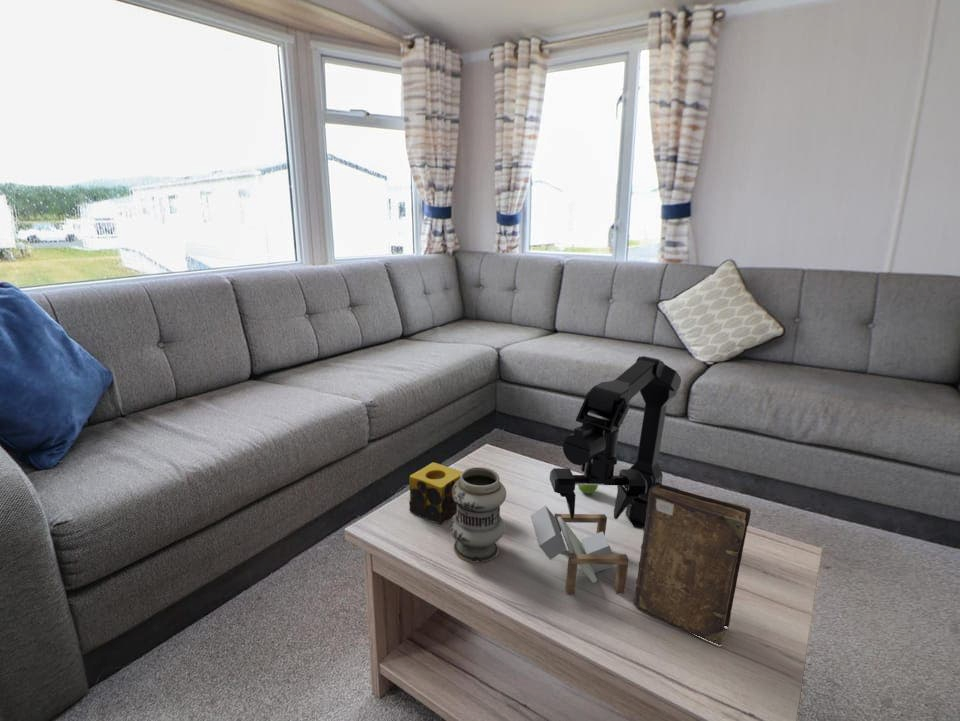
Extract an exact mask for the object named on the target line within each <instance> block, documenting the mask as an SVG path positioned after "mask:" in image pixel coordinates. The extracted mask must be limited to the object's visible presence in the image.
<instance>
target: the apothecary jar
mask: <svg viewBox="0 0 960 721" xmlns="http://www.w3.org/2000/svg"><path fill="white" fill-rule="evenodd" d="M500 480H501V479H500V476H499V474H498V472H496V471H495V470H493V469H491V468H488V467H485V468H484V467H483V466H475V467H470V468H467V469H464V470H463V471H462V473H461V475H460V479H459V480H458V481H457V482H456V483H455V484H454V485H453V488H452V497H453V499H454V501H455V502H456V503H457V508H456V514H455V515H454V516H452V517H451V518H450V519H451V520H450V522H449V531H450V533H451V536H452V537H453V538H454V539H455V540H456V541H455V542H454V544H453V551H454V553H455V554H456V556H457V557H459V559H461V560H464V561H467V562H468V563H469V562H471V563H474V562H480V563H485V562H488V561H491V560H492V559H495V557H496V556H497V555H498V554H499V553H498V552H499V547H498V544H497V542H498V541H499V540H501V538H502V537H503V536H504V533H505V530H506V525H505V522H504V519H503V518H502V516H500V515H501V514H500V513H501V512H500V511H501V505H503V503H504V502H505V501H506V498H507V489H506V487H505V485H504V484H503V483H502V482H501V481H500Z"/></svg>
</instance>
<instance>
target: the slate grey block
mask: <svg viewBox="0 0 960 721" xmlns="http://www.w3.org/2000/svg"><path fill="white" fill-rule="evenodd" d="M580 542H581V543H582V544H583V547H584V549H585V552H586V554H614V553H613V551H612V548H611V546H610V544H609V541H608V539H607V538H606V534H605V535H604V533H603V531H602V532H599V533H597V534H596V533H595V534H592V535H589V536H586V537H584V538H582V539H580ZM591 566H592V568H593V571H594V573H595V574H596V573H598V572H600V571H603V570H607V569H608V568H611V567H615V566H617V564H591Z"/></svg>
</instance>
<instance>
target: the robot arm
mask: <svg viewBox="0 0 960 721" xmlns="http://www.w3.org/2000/svg"><path fill="white" fill-rule="evenodd" d="M681 382H682V379H681V376H680V374H679V373H678V371H677V370H676V369H673V368H672V367H670V366H668V365H667V364H665V363H664V361H662V360H661V359H659V358H654V357H651V356H646V355H645V356H644V355H643V356H638V357H637V359H636V361H635V362H634V364H632V365H631V366H630V367H629V368H627V369H626V370H625V371H624V372H622V373H621V374H620V375H619V376H617V377H616V378H615V379H614V380H610V381H602V382H599V383H598V384H596V385H593V387H592V388H590V389H589V391H588V392H587V394H586V395H585V398H584V400H583V402H582V405H581V407H580V409H579V411H578V414H577V416H576V418H575V421H576V422H577V423H580V424H582V425H581V426H577V427H575V428H574V429H573V433H571V434H570V435H568V436H566V438H565V440H564V441H563V443H562V450H563V452H562V453H563V454H564V456H565V458H566V459H567V460H568V462H570V463H571V464H573V465H576V466H579V467H580V471H581V472H582V473H583V474H584V475H582V474H573V472H572V470H571V469H570V468H568V467H567V468H564V467H563V468H560V467H558V468H557V467H556V468H555V467H554V468H552V469H551V471H550V473H549V482H550V484H551V486H552V488H553V492H554V493H557V494H559V495H560V497H562V498H563V497H565V501H566V506H567V509H568V512H569V513H568V514H570V517H571V519H573V518H574V514H575V509H576V492H575V489H576V486H578V485H598V486H616V487H617V493H616V498H615V503H614V509H613V518H614V519H615V520H618V519H619V517H620V516H621V515H622V514H623V512H624V511H625V513H626V514H625V513H624V514H625V516H626V517H627V519H628V521H629V522H630V524H631V523H632V524H631V526H632V525H633V526H635V527H634V528H644V527H645V521H646V510H647V506H648V496H649V490H650V488H651V487H653V486H656V485H664V484H663V478H664V477H663V472H662V470H661V467H660V465H659V455H660V450H661V444H662V437H663V432H664V424H665V419H666V413H667V407H668V405H670V403H671V401H673V399H674V398H676V396H677V394H678V393H677V392H678V391H679V389H680V387H681V384H682V383H681ZM638 393H640V395H641V396H642V399H643V401H644V410H643V411H644V412H643V417H642V424H641V429H640V430H641V431H640V437H639V442H638V450H637V455H636V461H635V463H633V464H632V466H631V467H629V468H627V469H626V468H625V469H624V468H622V469H620V470H619V473H618V475H614V471H615V465H617V463H618V459H617V457H616V454H617V447H618V439H619V433H620V432H619V431H620V427H621V425H623V423H624V419H625V417H626V415H628V413H629V410H630V401H631V400H632V398H634V397H635V396H636V395H637V394H638ZM589 414H592V415H589ZM593 415H595V416H593ZM596 416H598V417H596ZM625 509H626V510H625ZM633 526H632V527H633ZM638 526H639V527H638Z"/></svg>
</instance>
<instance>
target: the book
mask: <svg viewBox="0 0 960 721" xmlns="http://www.w3.org/2000/svg"><path fill="white" fill-rule="evenodd" d="M751 510H752V509H751V508H750V507H747V506H744V505H741V504H738V503H732V502H728V501H724V500H720V499H716V498H712V497H707V496H704V495H700V494H696V493H692V492H688V491H685V490H681V489H680V488H677V487H673V486H670V485H665V484H663V485H656V486H653V487H651V488H650V490H649V496H648V506H647V510H646V521H645V527H643V536H642V543H641V546H640V556H639V557H640V558H639V562H638V571H637V576H636V579H635V591H634V595H633V596H634V597H633V600H632V602H633V603H632V604H633V605H634V606H635V607H636V608H637V609H638V610H639V611H641V612H643V613H645V614H647V615H649V616H651V617H654V616H655V617H654V618H658V619H659V620H661V619H662V620H661V621H664V622H666V621H667V622H666V623H668V622H669V623H668V624H670V623H671V625H672V624H673V626H674V627H677V628H679V629H681V628H682V629H681V630H683V629H684V630H683V631H685V630H686V632H687V631H689V632H691V633H693V634H695V635H697V636H700V637H702V638H704V639H706V640H708V641H711V642H713V643H716V644H718V645H722V646H723V643H724V635H725V632H724V630H725V629H724V626H727V627H728V628H729V627H730V622H731V616H732V609H733V604H734V598H735V594H736V589H737V588H736V587H737V583H738V582H737V581H738V578H739V572H740V567H741V566H740V565H741V561H742V558H743V557H742V556H743V551H744V545H745V540H746V537H747V536H746V535H747V530H748V527H749V524H750V519H751V518H750V517H751V515H752V514H751V512H752V511H751ZM689 632H688V633H689ZM691 633H690V634H691ZM693 634H692V635H693Z"/></svg>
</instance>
